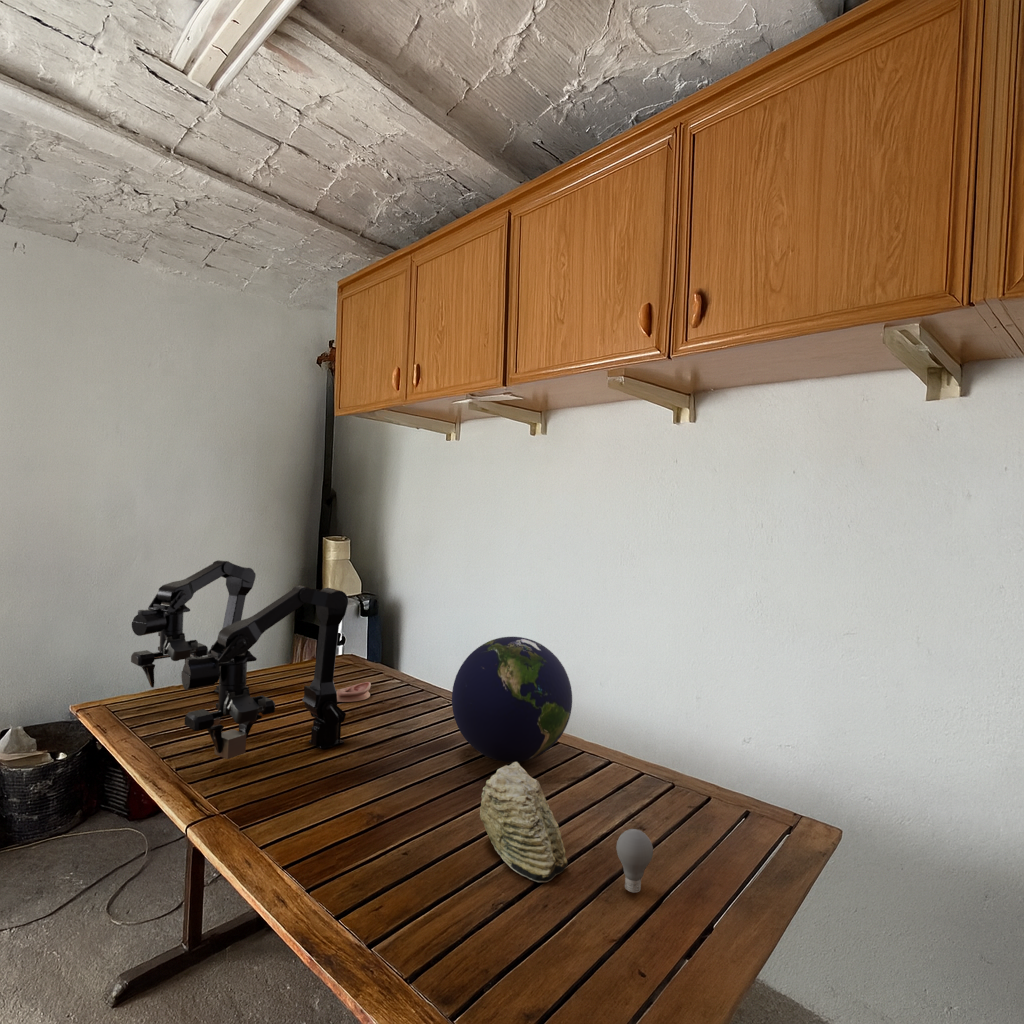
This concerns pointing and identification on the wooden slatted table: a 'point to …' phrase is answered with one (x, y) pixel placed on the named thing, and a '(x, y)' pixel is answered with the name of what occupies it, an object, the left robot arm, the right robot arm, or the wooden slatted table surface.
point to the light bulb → (634, 857)
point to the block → (232, 744)
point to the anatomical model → (354, 692)
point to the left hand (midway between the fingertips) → (169, 684)
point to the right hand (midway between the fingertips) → (230, 749)
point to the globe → (512, 699)
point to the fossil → (522, 824)
